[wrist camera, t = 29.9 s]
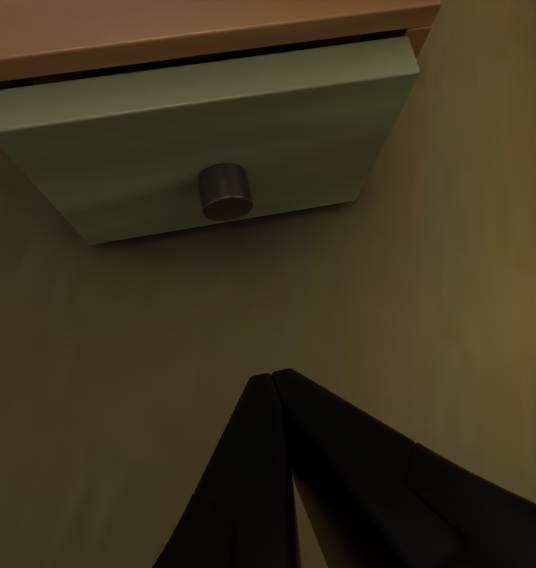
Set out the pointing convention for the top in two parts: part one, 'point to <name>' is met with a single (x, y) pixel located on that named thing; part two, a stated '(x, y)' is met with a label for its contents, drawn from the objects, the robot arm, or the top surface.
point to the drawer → (208, 134)
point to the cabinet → (184, 29)
